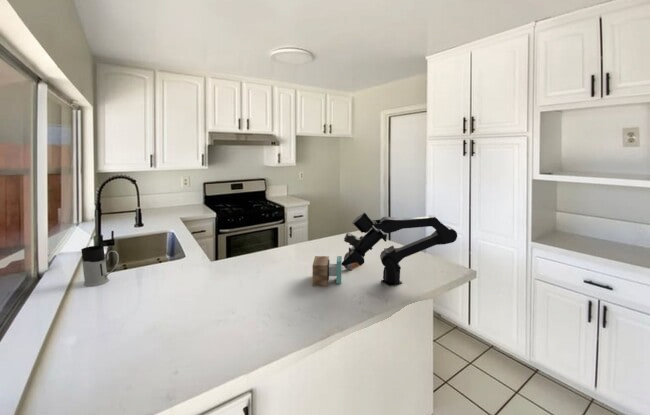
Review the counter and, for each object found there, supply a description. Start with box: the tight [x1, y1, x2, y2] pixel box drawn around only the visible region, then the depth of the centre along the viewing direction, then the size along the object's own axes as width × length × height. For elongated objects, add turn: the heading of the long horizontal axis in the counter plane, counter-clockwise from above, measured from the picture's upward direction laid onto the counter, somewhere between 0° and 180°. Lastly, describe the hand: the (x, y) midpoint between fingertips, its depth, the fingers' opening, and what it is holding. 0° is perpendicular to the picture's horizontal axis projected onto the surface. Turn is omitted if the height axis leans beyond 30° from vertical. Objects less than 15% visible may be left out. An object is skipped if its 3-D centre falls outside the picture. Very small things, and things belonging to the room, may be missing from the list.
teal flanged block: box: [329, 255, 343, 284], centre depth 137 cm, size 9×7×10 cm
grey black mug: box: [80, 245, 120, 288], centre depth 134 cm, size 9×14×15 cm, turn 94°
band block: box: [312, 255, 331, 288], centre depth 137 cm, size 6×12×9 cm, turn 177°
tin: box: [343, 251, 360, 271], centre depth 155 cm, size 15×3×8 cm, turn 143°
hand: (342, 265), depth 136 cm, fingers closed, pressing on teal flanged block
